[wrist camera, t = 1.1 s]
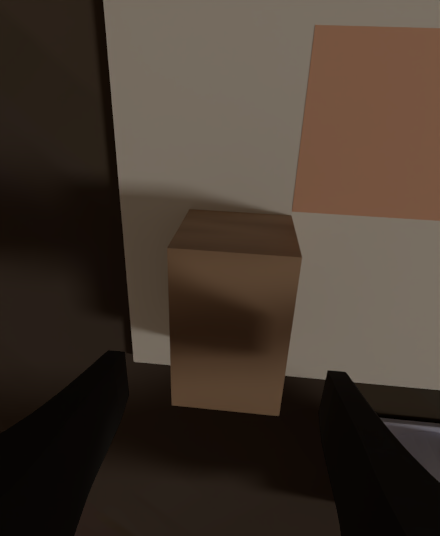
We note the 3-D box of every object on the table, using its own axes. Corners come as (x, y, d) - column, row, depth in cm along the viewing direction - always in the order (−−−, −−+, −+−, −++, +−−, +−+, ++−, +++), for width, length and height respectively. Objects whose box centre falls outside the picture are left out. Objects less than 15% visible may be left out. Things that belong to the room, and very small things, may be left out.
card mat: (447, 383, 22) (452, 391, 22) (136, 355, 23) (133, 361, 23) (615, -37, 13) (630, -43, 13) (104, -45, 15) (98, -50, 14)
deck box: (274, 347, 21) (279, 416, 17) (189, 340, 22) (171, 405, 17) (291, 215, 18) (302, 257, 13) (189, 209, 18) (167, 247, 14)
